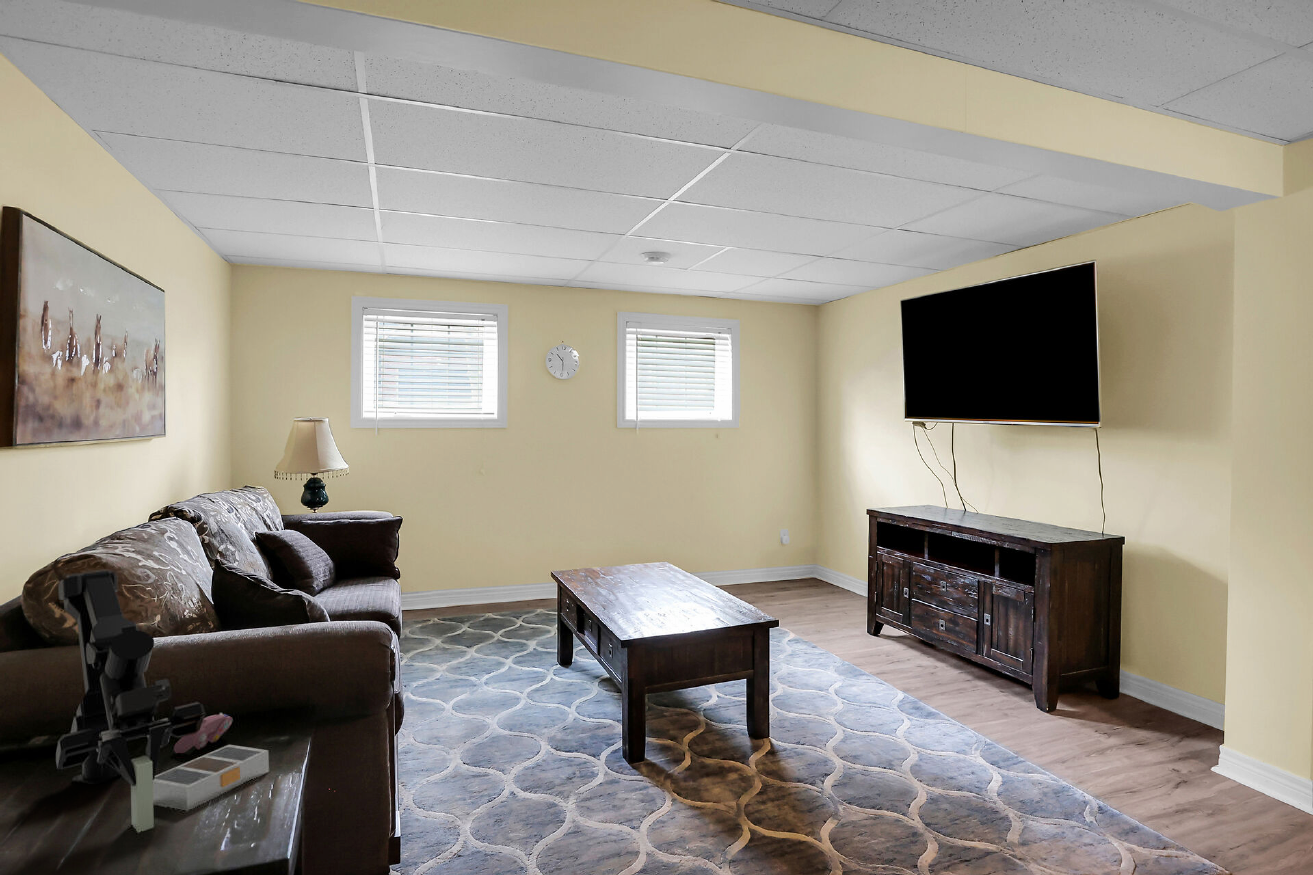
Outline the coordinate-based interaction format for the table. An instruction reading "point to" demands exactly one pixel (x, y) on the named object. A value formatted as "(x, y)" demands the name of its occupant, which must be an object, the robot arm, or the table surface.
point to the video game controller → (205, 733)
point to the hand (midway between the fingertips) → (143, 781)
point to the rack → (208, 776)
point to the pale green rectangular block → (142, 794)
